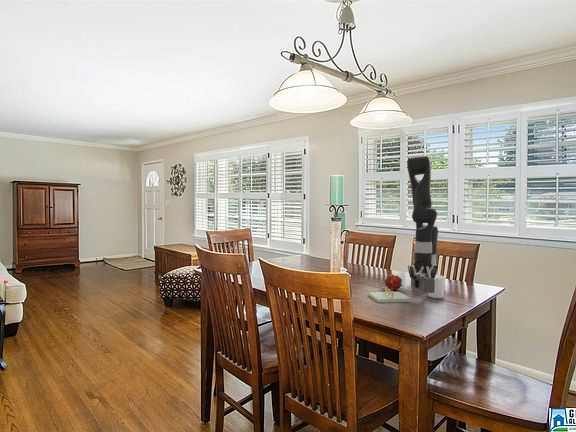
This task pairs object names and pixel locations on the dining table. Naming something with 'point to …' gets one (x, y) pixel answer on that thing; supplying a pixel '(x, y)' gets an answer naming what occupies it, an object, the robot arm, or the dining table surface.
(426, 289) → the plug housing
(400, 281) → the dragon fruit
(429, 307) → the dining table surface
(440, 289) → the white cup
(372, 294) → the board
